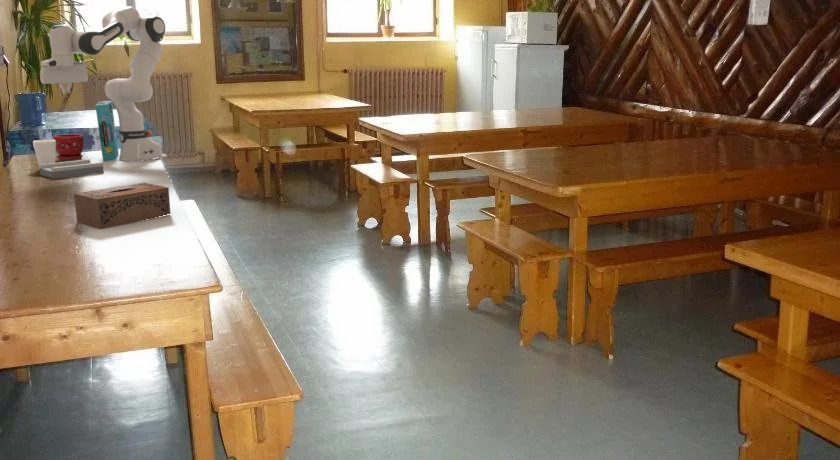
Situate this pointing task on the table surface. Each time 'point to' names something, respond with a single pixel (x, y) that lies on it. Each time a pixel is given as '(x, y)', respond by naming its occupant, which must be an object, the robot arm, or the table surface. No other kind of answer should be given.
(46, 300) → the table surface
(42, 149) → the foam cup
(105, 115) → the game box
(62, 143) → the plant pot
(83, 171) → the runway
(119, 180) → the table surface
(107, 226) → the tissue box cover
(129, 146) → the robot arm
